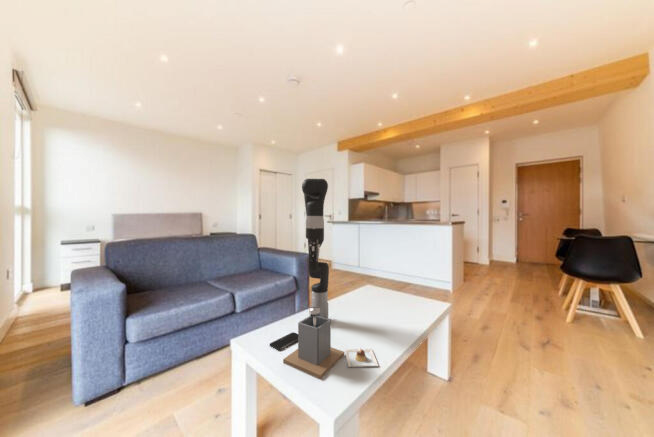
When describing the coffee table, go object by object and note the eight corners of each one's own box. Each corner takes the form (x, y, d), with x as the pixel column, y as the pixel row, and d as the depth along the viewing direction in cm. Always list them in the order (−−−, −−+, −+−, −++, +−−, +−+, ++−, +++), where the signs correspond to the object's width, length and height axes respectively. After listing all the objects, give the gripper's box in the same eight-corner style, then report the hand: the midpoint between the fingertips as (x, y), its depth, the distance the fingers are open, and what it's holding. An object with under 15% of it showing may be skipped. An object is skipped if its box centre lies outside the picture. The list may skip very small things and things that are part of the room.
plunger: (312, 342, 103) (312, 303, 103) (327, 347, 99) (327, 307, 99) (301, 350, 96) (301, 309, 97) (316, 356, 92) (316, 313, 92)
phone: (304, 336, 115) (279, 349, 103) (304, 339, 115) (279, 352, 103) (293, 331, 120) (268, 343, 108) (293, 334, 120) (268, 346, 108)
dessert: (372, 351, 104) (372, 340, 104) (378, 368, 92) (378, 356, 92) (344, 352, 104) (344, 341, 104) (348, 369, 92) (348, 357, 92)
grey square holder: (310, 343, 110) (310, 309, 110) (344, 355, 100) (344, 318, 100) (283, 362, 95) (283, 324, 95) (320, 379, 85) (320, 336, 85)
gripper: (308, 226, 105) (308, 265, 105) (303, 227, 91) (303, 272, 91) (325, 226, 105) (324, 265, 105) (322, 227, 91) (322, 272, 90)
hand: (314, 268), depth 98 cm, fingers open, 3 cm apart
